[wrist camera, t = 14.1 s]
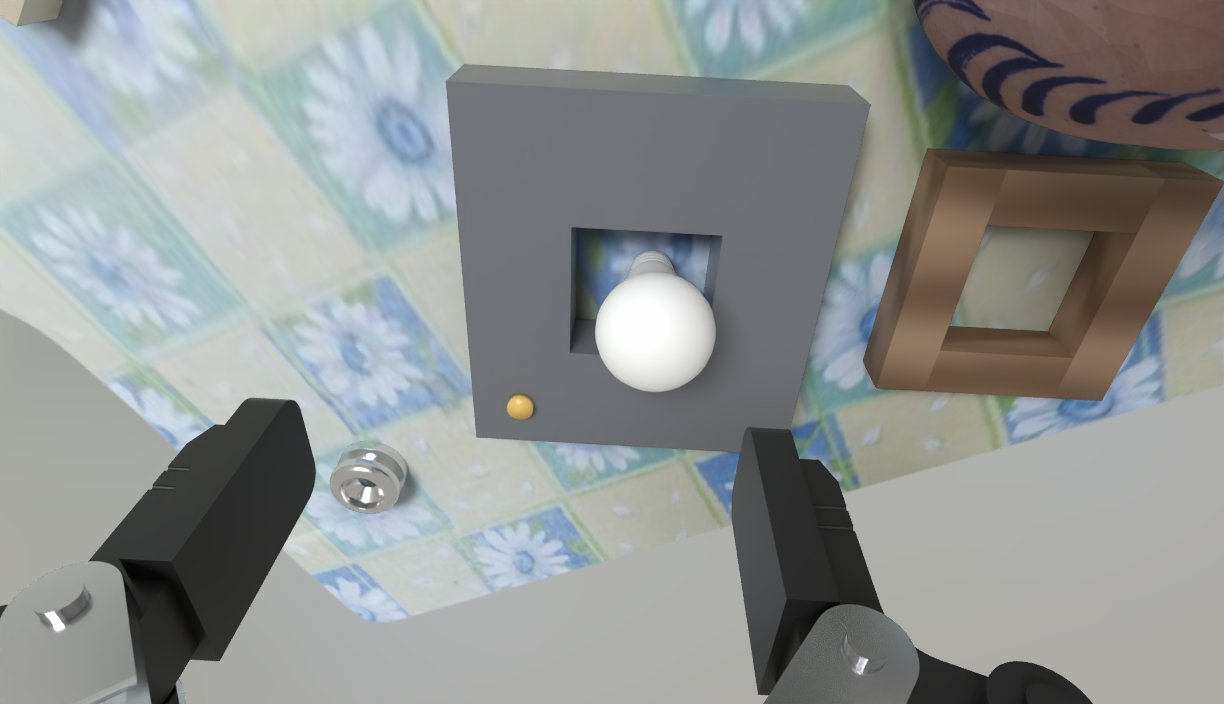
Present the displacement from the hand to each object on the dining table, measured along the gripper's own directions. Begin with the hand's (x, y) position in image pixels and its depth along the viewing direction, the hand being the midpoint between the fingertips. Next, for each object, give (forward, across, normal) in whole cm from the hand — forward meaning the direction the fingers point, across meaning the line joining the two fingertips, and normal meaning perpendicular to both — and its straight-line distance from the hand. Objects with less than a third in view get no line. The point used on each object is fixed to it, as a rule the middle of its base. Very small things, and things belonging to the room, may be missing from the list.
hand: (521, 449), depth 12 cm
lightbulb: (+28, -4, +10) cm, 30 cm away
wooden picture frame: (+28, -25, +9) cm, 39 cm away
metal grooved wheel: (+28, +16, +28) cm, 43 cm away
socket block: (+28, -3, +10) cm, 30 cm away
